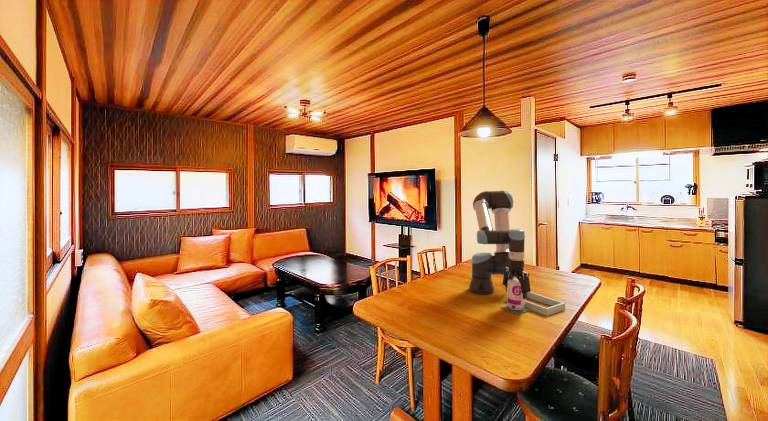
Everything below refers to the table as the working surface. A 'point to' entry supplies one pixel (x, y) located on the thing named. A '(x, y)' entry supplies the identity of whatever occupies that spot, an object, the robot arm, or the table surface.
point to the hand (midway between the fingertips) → (515, 301)
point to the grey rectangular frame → (555, 305)
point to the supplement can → (514, 294)
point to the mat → (516, 310)
